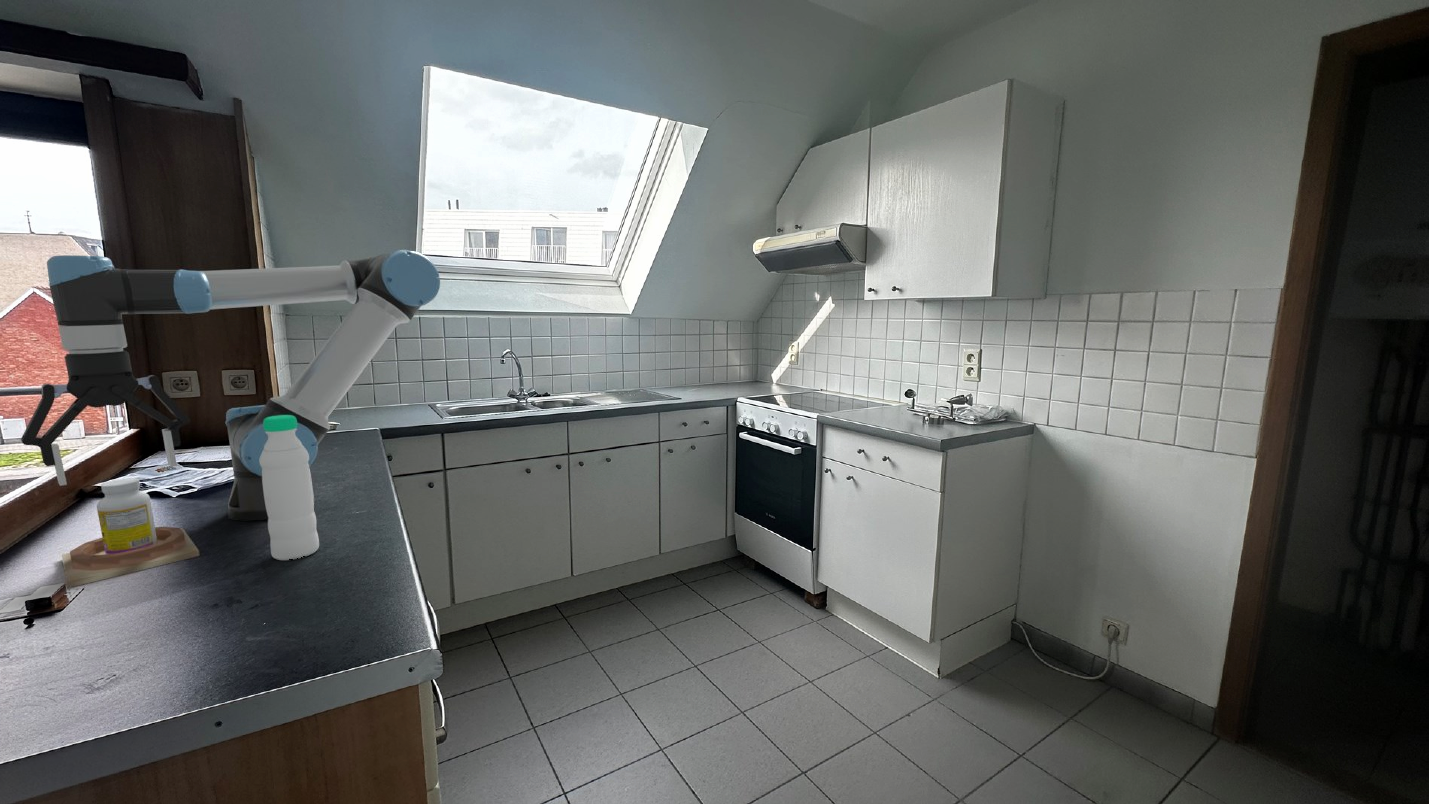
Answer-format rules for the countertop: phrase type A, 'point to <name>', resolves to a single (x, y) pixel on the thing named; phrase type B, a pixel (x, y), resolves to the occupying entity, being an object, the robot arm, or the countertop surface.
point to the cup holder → (126, 557)
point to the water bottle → (288, 490)
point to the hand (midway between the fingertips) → (120, 474)
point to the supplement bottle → (125, 517)
